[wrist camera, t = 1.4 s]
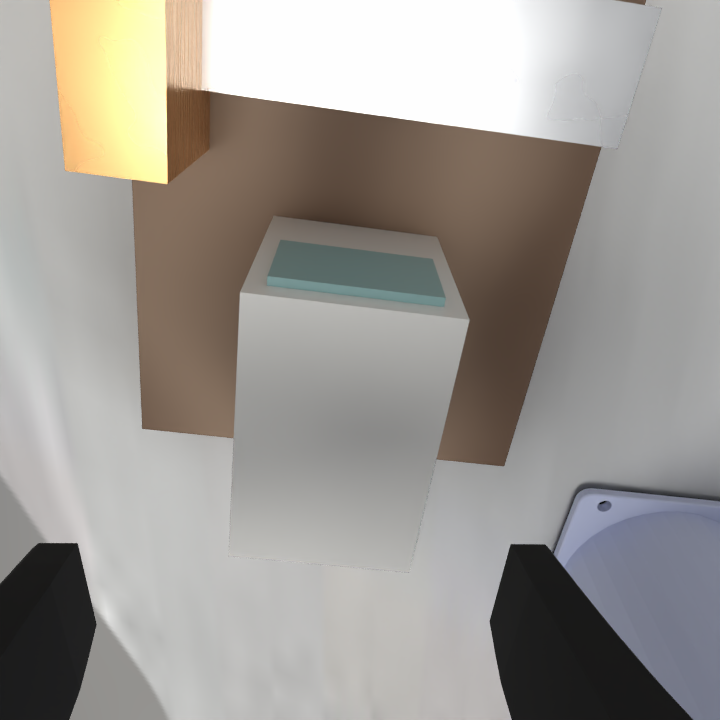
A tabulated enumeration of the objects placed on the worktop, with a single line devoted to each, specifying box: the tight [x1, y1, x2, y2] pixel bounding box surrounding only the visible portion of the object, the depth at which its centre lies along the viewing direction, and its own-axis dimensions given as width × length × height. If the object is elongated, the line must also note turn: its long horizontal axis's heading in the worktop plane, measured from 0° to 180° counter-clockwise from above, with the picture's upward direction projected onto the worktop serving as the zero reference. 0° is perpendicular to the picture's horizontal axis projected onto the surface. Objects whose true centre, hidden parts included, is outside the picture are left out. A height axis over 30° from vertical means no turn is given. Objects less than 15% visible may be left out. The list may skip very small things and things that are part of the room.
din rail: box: [50, 0, 662, 184], centre depth 13 cm, size 12×6×4 cm, turn 82°
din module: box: [228, 216, 469, 573], centre depth 16 cm, size 4×7×6 cm, turn 172°
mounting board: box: [132, 0, 646, 466], centre depth 17 cm, size 12×16×2 cm
